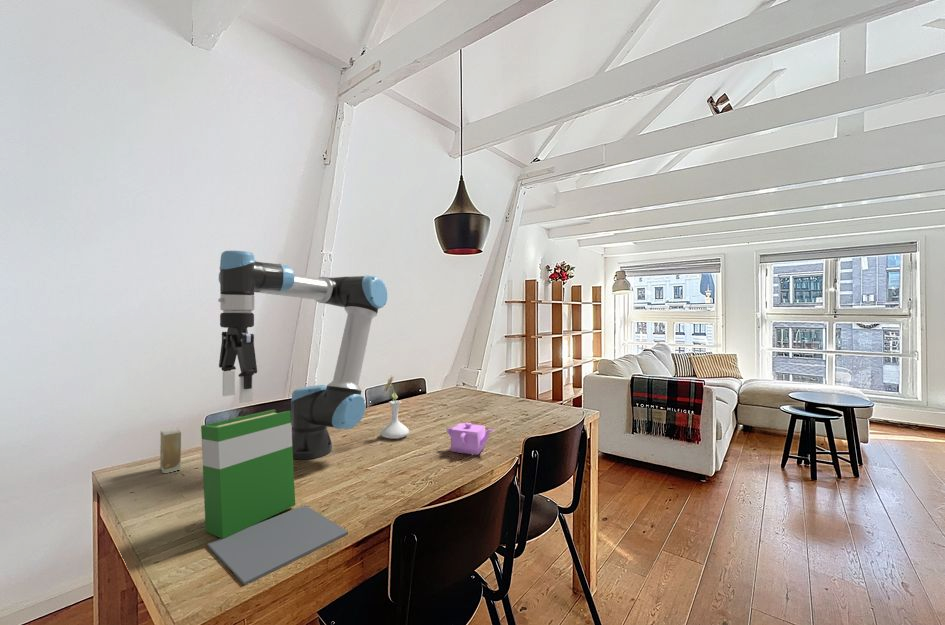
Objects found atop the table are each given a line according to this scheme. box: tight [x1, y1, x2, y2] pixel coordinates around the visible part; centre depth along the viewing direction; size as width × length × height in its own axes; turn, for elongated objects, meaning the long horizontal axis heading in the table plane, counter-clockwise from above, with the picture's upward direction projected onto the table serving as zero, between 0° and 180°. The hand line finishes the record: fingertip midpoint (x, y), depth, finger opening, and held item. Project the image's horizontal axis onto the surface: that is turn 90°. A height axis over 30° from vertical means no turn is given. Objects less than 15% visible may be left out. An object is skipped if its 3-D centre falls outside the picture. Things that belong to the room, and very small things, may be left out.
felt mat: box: [206, 504, 349, 586], centre depth 89 cm, size 19×22×1 cm
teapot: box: [446, 422, 495, 456], centre depth 144 cm, size 18×14×10 cm
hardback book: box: [200, 409, 296, 539], centre depth 98 cm, size 18×7×24 cm, turn 149°
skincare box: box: [159, 427, 182, 474], centre depth 125 cm, size 6×4×12 cm
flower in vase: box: [379, 375, 410, 440], centre depth 159 cm, size 13×11×25 cm
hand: (237, 398), depth 103 cm, fingers open, 10 cm apart
